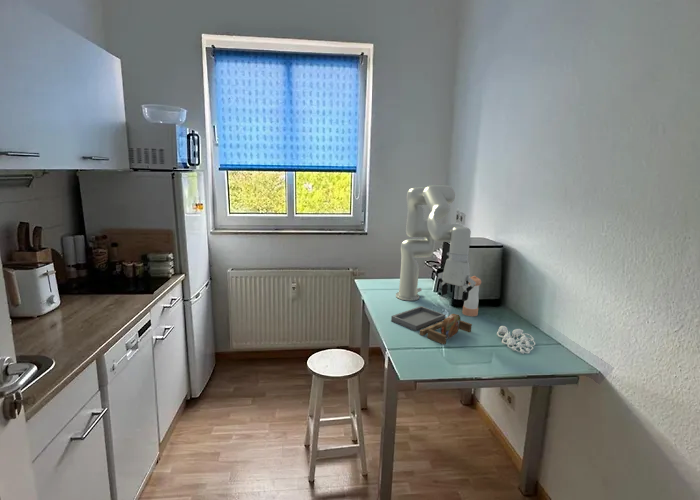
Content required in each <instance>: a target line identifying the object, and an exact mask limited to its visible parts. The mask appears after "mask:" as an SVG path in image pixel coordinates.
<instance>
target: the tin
mask: <svg viewBox="0 0 700 500" xmlns="http://www.w3.org/2000/svg"><path fill="white" fill-rule="evenodd" d="M460 320H461V316H460V314H457V313H451V314H449V315H448V316H447V317H445V319H444V320H443V322H442V325H441V328H440V333H441V334H444V335H446V336H447V337H446V340H447V339H448V340H449V339H452V337H454V336H455V335H456V334H457V333H458V331H459V330H460V329H459V327H460Z"/></svg>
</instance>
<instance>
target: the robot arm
mask: <svg viewBox="0 0 700 500" xmlns="http://www.w3.org/2000/svg"><path fill="white" fill-rule="evenodd" d="M455 198H456V192H455V190H454V188H453V187H452V186H450V185H442V184H440V185H439V184H438V185H437V184H432V185H428V186H426V187H424V186H423V187H418V186H417V187H412V188H409V190H407V193H406V207H407V215H406V224H405V225H406V226H405V233H406V236H407V237H410V239H405V240H403V241H402V242H401V243H400V255H401V258H400V259H401V261H400V275H399V286H398V292H396V293H395V297H396V298H397V299H399V300H402V301H409V302H413V301H418V300H419V299H420V295H419V294H418V293H420V292H422V288H421V287H419V286H418V283H419V273H420V265H419V263H418V261H417V260H416V259H417V258H430V257H432V256H433V255H434V252H435V247H436V246H435V245H436V242H441V243H442V242H444V243H445V242H449V243H450V244H449V251H448V252H446V256H448V258H446V260H445V264H444V268H443V271H442V272H439V273H437V276H438V281H439V282H440V285H441V296H445V295H448V288H449V285H453V286H456V287H459V288H460V287H461V288H462V289H463V291H462V297H461V301H462V302H464V301H466V300H467V299H468V295H469V291H470V290H471V289H473V287H474V286H475V284H476V282H475V281H473V280H472V279H471V278H470V277H471V276H470V275H471V274H470V272H471V270H470V262H469V252H470V251H469V250H470V243H471V233H472V232H471V228H469V227H466V226H463V224H460V223H439V222H438V220H440V219H443V218H445V217H446V216H447V215H448V214H449V213H450V211H451V207H450V204H452V203H453V202H454V201H455ZM424 206H427V207H428V209H429V212H430V213H429V215H428V216H427V218H426V219H425V213H426V212H425V208H424ZM418 238H423V239H418ZM469 282H470V283H471V285H470V286H468V284H469ZM448 284H449V285H448Z"/></svg>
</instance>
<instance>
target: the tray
mask: <svg viewBox="0 0 700 500" xmlns="http://www.w3.org/2000/svg"><path fill="white" fill-rule="evenodd" d="M445 318H446V314H444V313H441V312H439V311H437V310H433V309H430V308H428V307H425V306H422V305H420V306H417V307H415V308H410V309H407V310H405V311H402V312H399V313H396V314H393V315H391V320H390V322H392V323H395V324H397V325H400V326H401V327H405V328H407V329H410V330H411V331H414V332H418V331H420V330H422V329H424V328H427V327H429V326H432V325H434V324H437V323H439V322H441V321H443V320H444V319H445Z"/></svg>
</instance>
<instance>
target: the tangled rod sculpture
mask: <svg viewBox="0 0 700 500" xmlns="http://www.w3.org/2000/svg"><path fill="white" fill-rule="evenodd" d="M496 335H497V337H499V338H502V339H501V344H503V345H507V348H509V349H511V350H512V351H514V352H517V353H520V354H523V355H524V354H530V353H531V351H533V350H534V346H536V341H534V339H535V338H534V337H533V335H531V334H529V333H524V330H523V329H521V328H515V329H513V330H512V332H511V331H509V330H508V327H506V326H505V325H501V326H499V327H498V330H497V332H496ZM519 336H521V337H520V338H519ZM527 336H529V337H527ZM515 338H516V339H515ZM531 342H533V344H531ZM515 345H516V346H515ZM522 348H523V349H522ZM530 348H531V349H530ZM518 349H520V350H518Z"/></svg>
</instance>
